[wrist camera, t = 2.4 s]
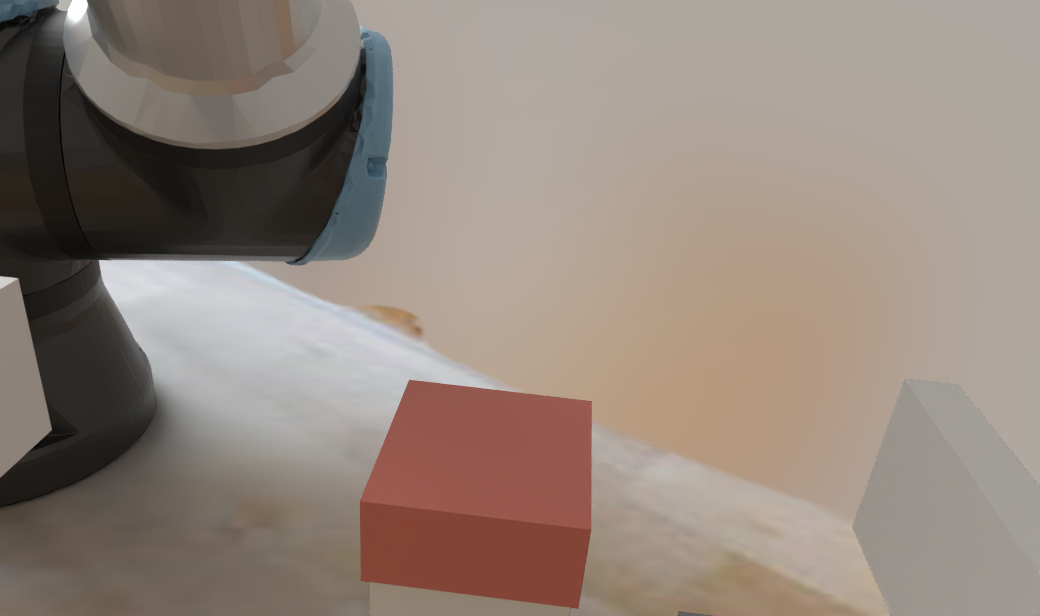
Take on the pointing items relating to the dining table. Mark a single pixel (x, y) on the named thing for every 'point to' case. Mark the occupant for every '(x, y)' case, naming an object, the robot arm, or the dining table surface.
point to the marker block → (478, 505)
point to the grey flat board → (690, 614)
